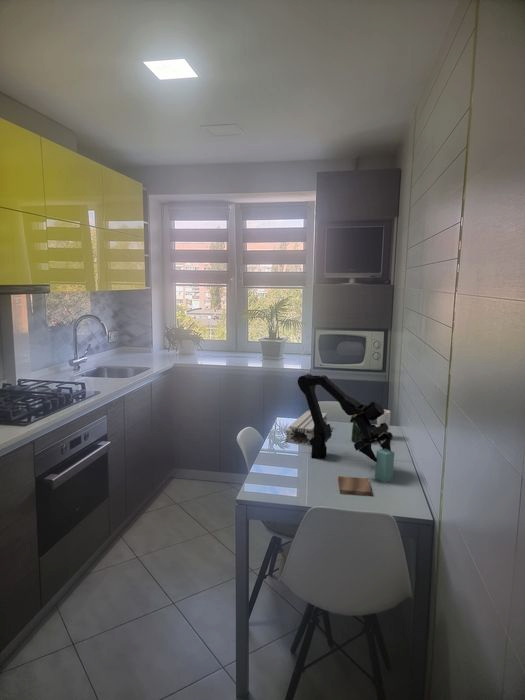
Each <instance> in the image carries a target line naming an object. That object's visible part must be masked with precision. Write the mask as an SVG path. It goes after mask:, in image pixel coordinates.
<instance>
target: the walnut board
mask: <svg viewBox="0 0 525 700" xmlns="http://www.w3.org/2000/svg"><path fill="white" fill-rule="evenodd" d="M337 477H338V479H337V481H338V488H339V489H338V491H339V494H341V495H342V494H343V495H354V494H357V496H367V495H368V496H369V497H371V496H373V495H372V494H373V492H372V488H371V487H372V486H371V484H370V480H369V478H367V477H355V476H354V477H352V476H342V475H341V476H337Z"/></svg>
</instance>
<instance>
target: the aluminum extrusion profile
mask: <svg viewBox="0 0 525 700" xmlns="http://www.w3.org/2000/svg"><path fill="white" fill-rule="evenodd" d="M321 413H322V416H323V420H324V422H325V423H326V424H328V417H327V416H328V412H321ZM284 433H285V434H284V435H286V437H285V438H284V443H287V444H294V445H299V446H306V447H312V445H310V442H309V440H311V439H312V438H313V437H314V422H313V419H312V416H311V412H310V410H306V411H305V412H303V414H301V415H300V416H299V417H298V418H297V419H296V420H295V421H294V422H292V423H291V424H290V425H289V426H288V427H286V429H284Z"/></svg>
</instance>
